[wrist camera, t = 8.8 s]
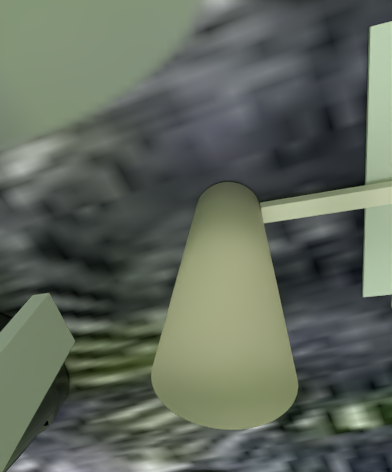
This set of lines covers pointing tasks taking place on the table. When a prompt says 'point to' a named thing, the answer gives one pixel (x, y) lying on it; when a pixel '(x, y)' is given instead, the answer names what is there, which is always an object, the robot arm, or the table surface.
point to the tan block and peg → (236, 309)
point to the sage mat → (378, 163)
